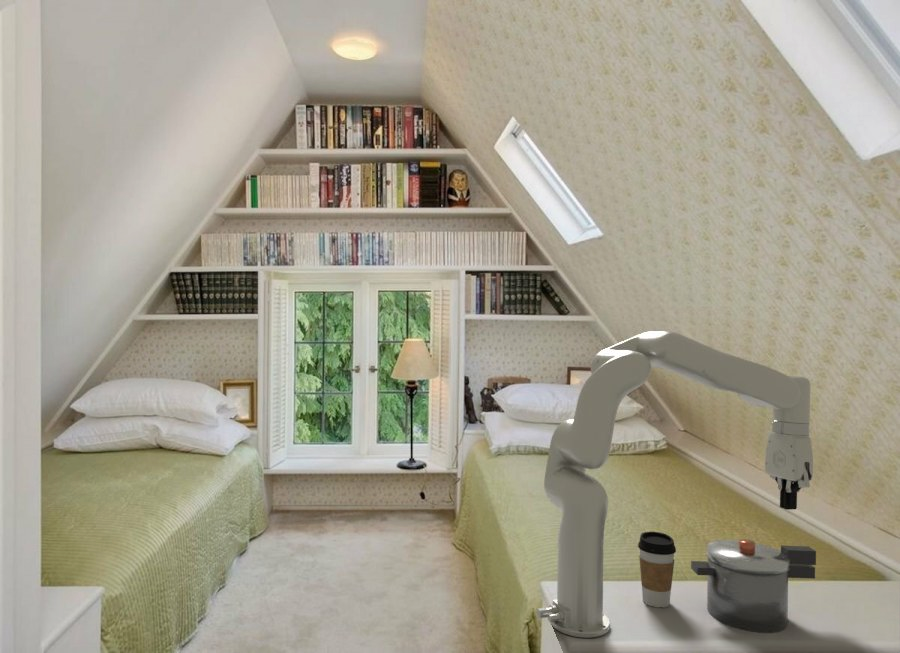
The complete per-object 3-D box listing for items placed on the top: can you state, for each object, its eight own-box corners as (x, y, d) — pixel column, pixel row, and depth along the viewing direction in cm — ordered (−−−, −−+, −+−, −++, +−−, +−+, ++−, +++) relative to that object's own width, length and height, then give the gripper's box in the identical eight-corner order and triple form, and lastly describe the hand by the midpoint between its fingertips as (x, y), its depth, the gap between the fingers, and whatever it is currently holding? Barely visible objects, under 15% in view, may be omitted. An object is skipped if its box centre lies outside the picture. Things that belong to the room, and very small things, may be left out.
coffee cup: (669, 595, 143) (670, 532, 143) (680, 611, 134) (680, 544, 134) (633, 593, 143) (634, 530, 144) (641, 609, 135) (642, 542, 135)
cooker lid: (722, 572, 125) (722, 553, 126) (695, 545, 142) (696, 528, 142) (833, 577, 124) (833, 558, 124) (793, 549, 140) (793, 532, 140)
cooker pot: (707, 630, 125) (708, 572, 126) (681, 597, 141) (681, 546, 142) (832, 635, 124) (832, 577, 125) (791, 601, 140) (791, 549, 141)
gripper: (753, 424, 146) (751, 500, 145) (802, 434, 131) (800, 518, 131) (779, 424, 147) (777, 499, 147) (830, 434, 133) (828, 517, 132)
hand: (788, 508), depth 139 cm, fingers closed
